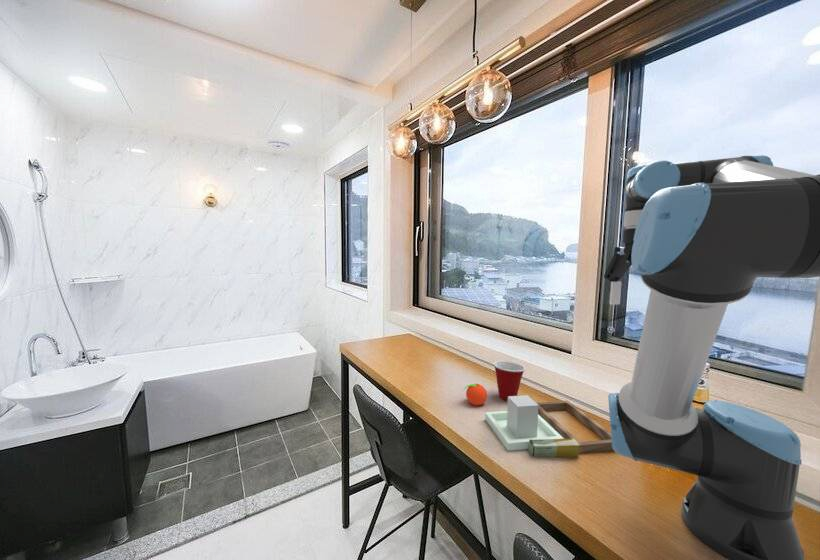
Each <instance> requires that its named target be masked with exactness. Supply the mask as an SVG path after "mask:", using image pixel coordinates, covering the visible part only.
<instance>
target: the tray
mask: <svg viewBox="0 0 820 560" xmlns="http://www.w3.org/2000/svg"><path fill="white" fill-rule="evenodd" d="M484 414H485V416H484V417H485V418H484V420H485V422H486V424H488V426H489V428H490V429H491V430H492V431H493V433H495V435H496V437H497V438H498V440H499V441H500V442H501V443H502V445H503V446H504V448H505V449H506V450H507V451H508V452H512V451H513V452H514V451H515V452H516V451H529V440H538V439H564V438H563V437H562V436H561V435H560V434H559V433H558V432H557V431H555V430H554V429H553V428H552V427H551V426H550V425H549V424H548V423H547V422H546V421H545V420H544V419H543V418H542V417H541V416H540V415H539V414H538V427H537V437H526V438H516V437H515V436H514V435H513V433H512V432H511V431H510V430H509V428H508V427H507V410H502V411H501V410H500V411H485V413H484Z"/></svg>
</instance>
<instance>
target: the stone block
mask: <svg viewBox="0 0 820 560" xmlns="http://www.w3.org/2000/svg"><path fill="white" fill-rule="evenodd" d="M537 403H538V402H536V401H534V400H533V399H532V397H530V396H529V395H517V396H508V401H507V410H506V411H507V427H508V428H509V430H510V431H511V432H512V433H513V435H514V436H515V437H516V438H526V437H537V427H538V406H539V405H538V404H537Z"/></svg>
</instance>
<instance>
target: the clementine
mask: <svg viewBox="0 0 820 560" xmlns="http://www.w3.org/2000/svg"><path fill="white" fill-rule="evenodd" d="M465 389H466V392H465V395H466V399H467V401H468V402H469V403H470V404H471V405H473V406H481V405H483V404H484V403H485V402H486V401H487V397H488V393H487V390H486V388H485V387H484V386H483V385H482V384H480V383H471V384H468V385H466V386H464V388H463V390H462V392H464V391H465Z"/></svg>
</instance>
